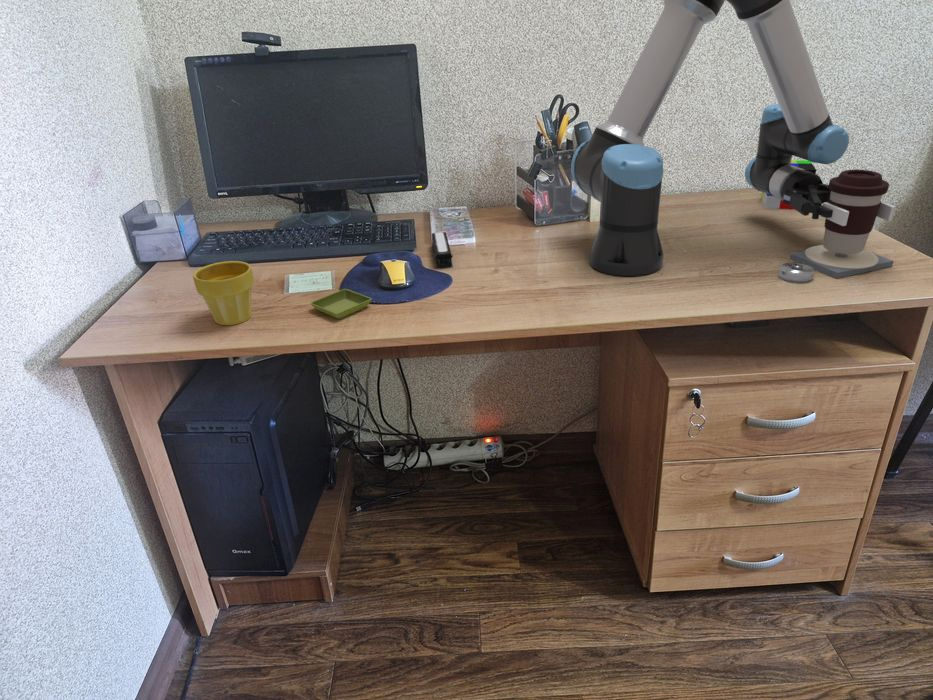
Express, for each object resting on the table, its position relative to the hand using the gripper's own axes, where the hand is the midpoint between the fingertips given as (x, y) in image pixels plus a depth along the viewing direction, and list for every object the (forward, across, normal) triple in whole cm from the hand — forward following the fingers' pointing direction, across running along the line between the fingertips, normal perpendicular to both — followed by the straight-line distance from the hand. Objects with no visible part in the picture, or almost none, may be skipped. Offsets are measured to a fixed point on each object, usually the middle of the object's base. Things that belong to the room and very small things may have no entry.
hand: (869, 216), depth 120 cm
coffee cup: (-5, 0, -8) cm, 9 cm away
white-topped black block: (-35, +77, -12) cm, 85 cm away
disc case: (-5, 0, -11) cm, 12 cm away
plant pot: (-12, +121, -11) cm, 122 cm away
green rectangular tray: (-10, +100, -12) cm, 102 cm away
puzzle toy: (-44, -13, -11) cm, 48 cm away
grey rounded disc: (0, +12, -11) cm, 17 cm away
